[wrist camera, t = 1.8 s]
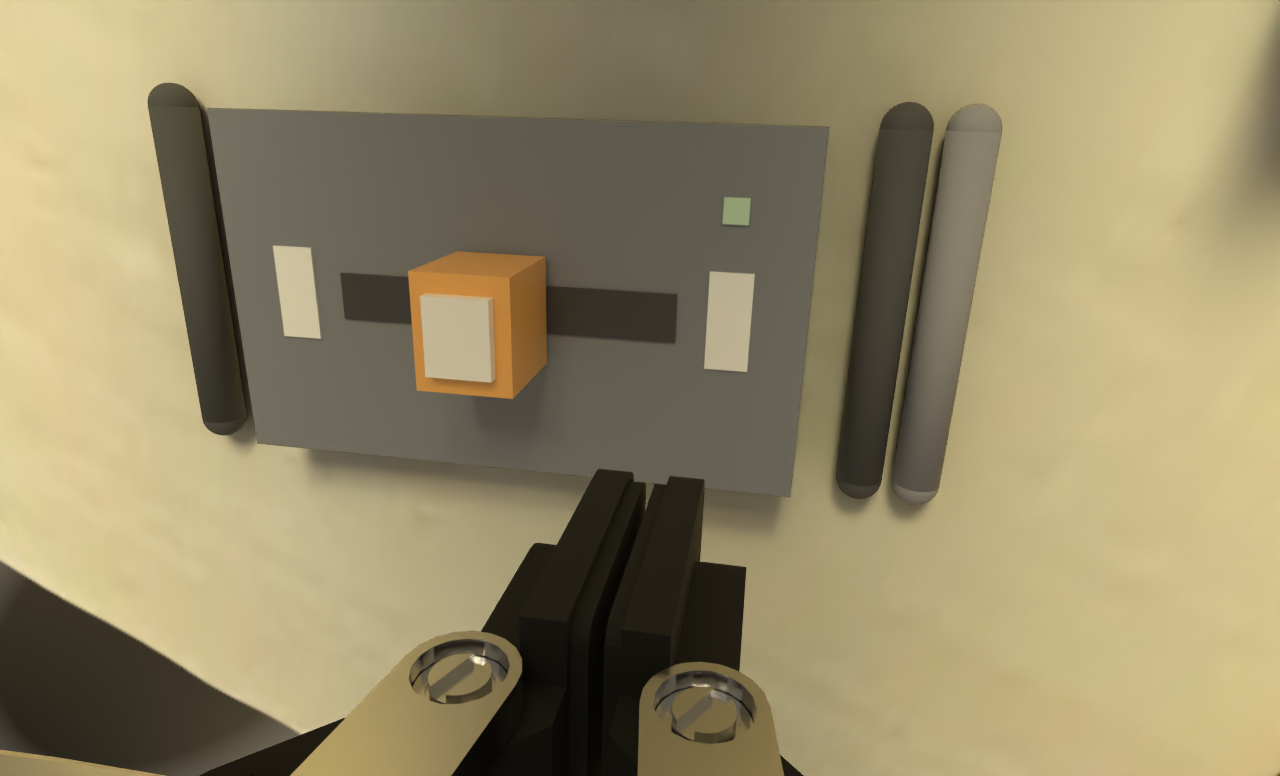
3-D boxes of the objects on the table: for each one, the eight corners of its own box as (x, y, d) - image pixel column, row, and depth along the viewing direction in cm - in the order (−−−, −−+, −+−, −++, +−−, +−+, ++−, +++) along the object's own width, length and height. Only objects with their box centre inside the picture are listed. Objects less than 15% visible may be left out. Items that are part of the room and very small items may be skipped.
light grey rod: (945, 103, 24) (956, 102, 23) (998, 104, 24) (1013, 104, 22) (886, 489, 29) (892, 510, 27) (931, 494, 28) (939, 514, 27)
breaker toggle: (457, 251, 25) (401, 273, 21) (545, 256, 25) (505, 280, 21) (462, 356, 26) (410, 394, 23) (546, 362, 26) (508, 403, 22)
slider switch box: (263, 109, 28) (204, 107, 25) (822, 126, 25) (829, 127, 22) (302, 415, 32) (255, 444, 29) (788, 461, 29) (790, 498, 26)
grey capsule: (879, 101, 24) (886, 100, 23) (932, 103, 24) (942, 102, 23) (832, 484, 29) (835, 504, 27) (875, 488, 29) (881, 508, 27)
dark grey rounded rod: (166, 83, 28) (132, 81, 27) (205, 84, 28) (173, 82, 26) (223, 425, 33) (196, 439, 31) (257, 428, 32) (232, 443, 31)
